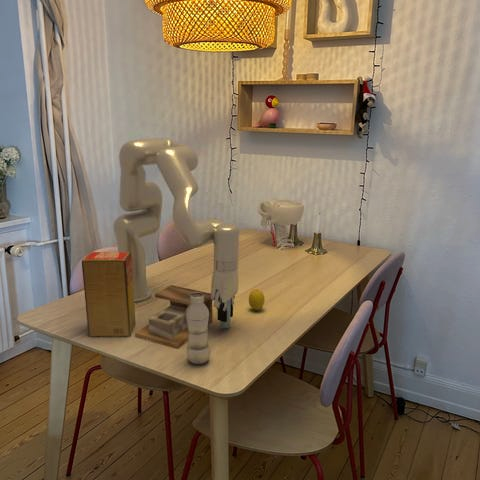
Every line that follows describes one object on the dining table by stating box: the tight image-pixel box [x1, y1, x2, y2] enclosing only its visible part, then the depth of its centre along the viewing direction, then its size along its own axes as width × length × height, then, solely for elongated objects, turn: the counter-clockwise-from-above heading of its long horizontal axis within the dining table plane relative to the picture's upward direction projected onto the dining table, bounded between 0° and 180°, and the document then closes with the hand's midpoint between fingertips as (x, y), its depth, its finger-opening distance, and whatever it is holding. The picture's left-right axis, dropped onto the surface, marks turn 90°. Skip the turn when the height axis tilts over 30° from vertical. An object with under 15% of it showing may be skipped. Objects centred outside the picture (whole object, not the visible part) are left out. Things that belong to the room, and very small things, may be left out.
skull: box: [257, 198, 305, 251], centre depth 232 cm, size 25×19×23 cm
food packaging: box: [81, 251, 136, 338], centre depth 143 cm, size 13×9×25 cm
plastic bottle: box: [185, 292, 211, 365], centre depth 126 cm, size 6×7×20 cm
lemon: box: [248, 288, 266, 311], centre depth 160 cm, size 6×6×8 cm
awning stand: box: [134, 284, 214, 349], centre depth 146 cm, size 20×17×10 cm
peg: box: [219, 299, 231, 329], centre depth 145 cm, size 3×3×12 cm
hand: (225, 318), depth 146 cm, fingers closed on peg, 3 cm apart
